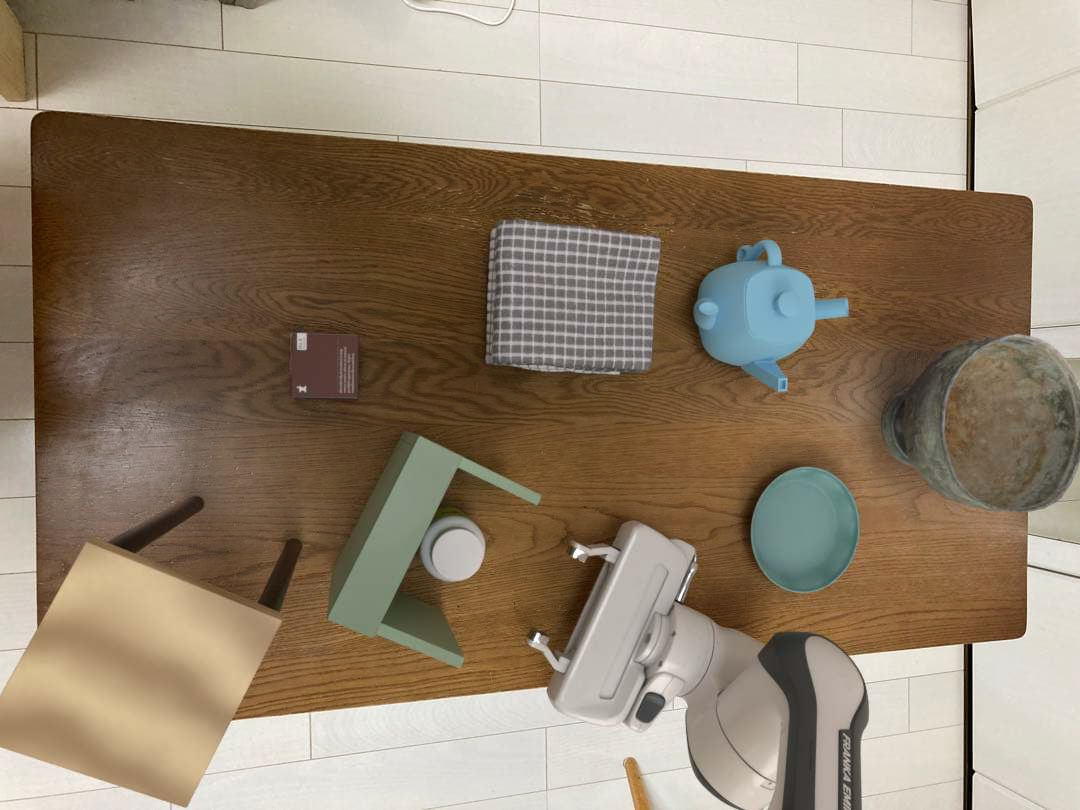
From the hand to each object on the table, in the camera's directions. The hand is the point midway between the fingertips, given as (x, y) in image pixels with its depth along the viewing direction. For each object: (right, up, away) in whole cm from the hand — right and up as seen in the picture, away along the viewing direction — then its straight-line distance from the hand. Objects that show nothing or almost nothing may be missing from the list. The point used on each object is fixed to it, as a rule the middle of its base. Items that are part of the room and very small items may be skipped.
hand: (549, 591), depth 70 cm
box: (-22, +22, +1) cm, 31 cm away
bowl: (+46, +16, +20) cm, 53 cm away
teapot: (+22, +28, +13) cm, 38 cm away
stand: (-25, +3, -28) cm, 37 cm away
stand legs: (-32, +2, -2) cm, 32 cm away
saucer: (+29, +4, +15) cm, 33 cm away
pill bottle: (-11, +5, +4) cm, 13 cm away
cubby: (-13, +6, +3) cm, 15 cm away
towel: (+2, +29, +8) cm, 30 cm away
